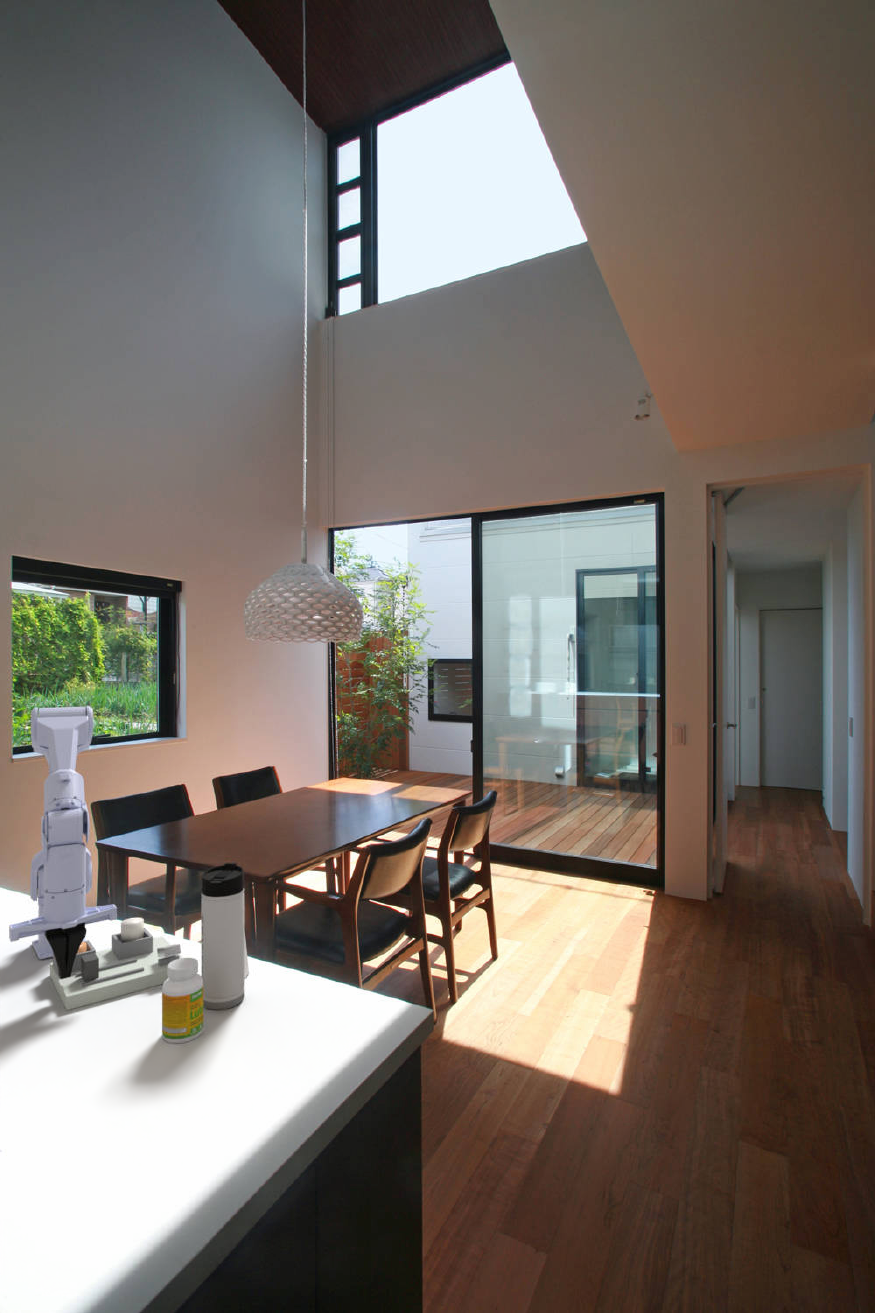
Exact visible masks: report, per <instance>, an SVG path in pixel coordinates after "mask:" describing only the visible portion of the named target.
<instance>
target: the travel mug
mask: <svg viewBox="0 0 875 1313" xmlns="http://www.w3.org/2000/svg"><path fill="white" fill-rule="evenodd" d="M244 883H245V870H244V868H243V867H242V866H241V865H238V864H237V862H226V863H224V864H222V865H218V866H217V865H216V866H213V867H211V868H208V869H207V870H205V871H204V872H202V875H201V906H200V907H201V914H200V915H201V919H200V920H201V926H200V927H201V928H200V929H201V935H200V936H201V977H202V978H203V1008H205V1009H208V1010H212V1011H221V1010H222V1011H223V1010H228V1009H231V1008H233V1007H236V1006H238V1005H239V1004H241V1002H243V1000H244V999H245V979H244V932H245V884H244ZM227 1008H228V1009H227Z"/></svg>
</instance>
